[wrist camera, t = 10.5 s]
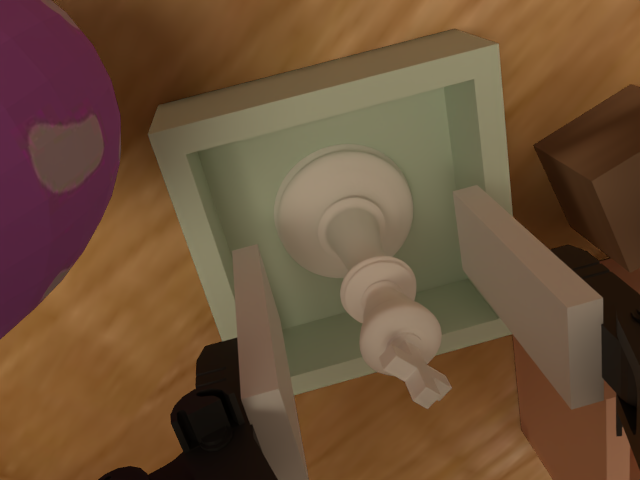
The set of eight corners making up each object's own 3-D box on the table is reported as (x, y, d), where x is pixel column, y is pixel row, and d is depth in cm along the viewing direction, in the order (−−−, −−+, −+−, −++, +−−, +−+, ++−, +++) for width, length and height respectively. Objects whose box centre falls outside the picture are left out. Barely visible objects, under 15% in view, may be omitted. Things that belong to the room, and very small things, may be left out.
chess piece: (353, 293, 23) (433, 511, 14) (245, 227, 22) (263, 431, 13) (438, 193, 22) (584, 366, 13) (331, 114, 20) (418, 253, 11)
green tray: (242, 349, 24) (246, 408, 21) (158, 105, 20) (147, 134, 17) (483, 282, 25) (522, 331, 22) (454, 28, 20) (498, 43, 17)
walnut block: (569, 225, 24) (630, 273, 21) (532, 144, 23) (591, 181, 19) (660, 170, 24) (738, 209, 20) (629, 83, 22) (709, 109, 19)
